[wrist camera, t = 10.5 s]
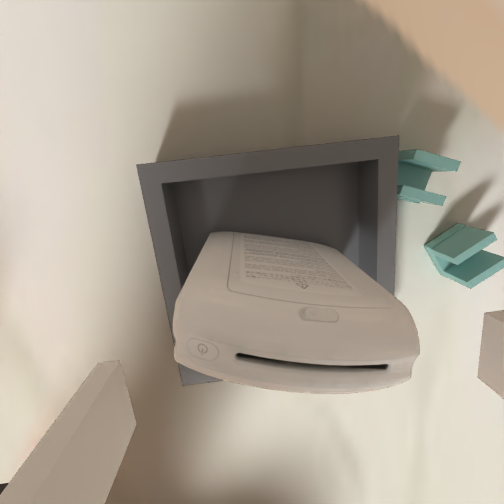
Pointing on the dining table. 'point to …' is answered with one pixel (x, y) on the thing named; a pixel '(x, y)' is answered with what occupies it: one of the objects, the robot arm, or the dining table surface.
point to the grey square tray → (275, 207)
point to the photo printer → (290, 318)
